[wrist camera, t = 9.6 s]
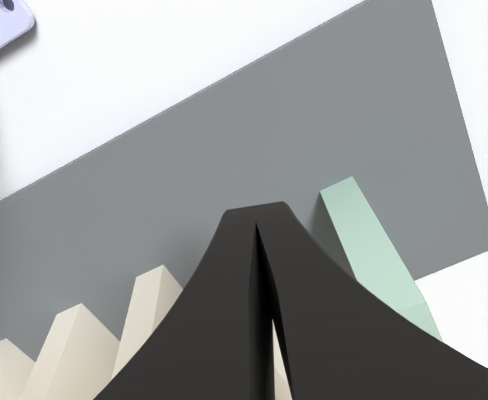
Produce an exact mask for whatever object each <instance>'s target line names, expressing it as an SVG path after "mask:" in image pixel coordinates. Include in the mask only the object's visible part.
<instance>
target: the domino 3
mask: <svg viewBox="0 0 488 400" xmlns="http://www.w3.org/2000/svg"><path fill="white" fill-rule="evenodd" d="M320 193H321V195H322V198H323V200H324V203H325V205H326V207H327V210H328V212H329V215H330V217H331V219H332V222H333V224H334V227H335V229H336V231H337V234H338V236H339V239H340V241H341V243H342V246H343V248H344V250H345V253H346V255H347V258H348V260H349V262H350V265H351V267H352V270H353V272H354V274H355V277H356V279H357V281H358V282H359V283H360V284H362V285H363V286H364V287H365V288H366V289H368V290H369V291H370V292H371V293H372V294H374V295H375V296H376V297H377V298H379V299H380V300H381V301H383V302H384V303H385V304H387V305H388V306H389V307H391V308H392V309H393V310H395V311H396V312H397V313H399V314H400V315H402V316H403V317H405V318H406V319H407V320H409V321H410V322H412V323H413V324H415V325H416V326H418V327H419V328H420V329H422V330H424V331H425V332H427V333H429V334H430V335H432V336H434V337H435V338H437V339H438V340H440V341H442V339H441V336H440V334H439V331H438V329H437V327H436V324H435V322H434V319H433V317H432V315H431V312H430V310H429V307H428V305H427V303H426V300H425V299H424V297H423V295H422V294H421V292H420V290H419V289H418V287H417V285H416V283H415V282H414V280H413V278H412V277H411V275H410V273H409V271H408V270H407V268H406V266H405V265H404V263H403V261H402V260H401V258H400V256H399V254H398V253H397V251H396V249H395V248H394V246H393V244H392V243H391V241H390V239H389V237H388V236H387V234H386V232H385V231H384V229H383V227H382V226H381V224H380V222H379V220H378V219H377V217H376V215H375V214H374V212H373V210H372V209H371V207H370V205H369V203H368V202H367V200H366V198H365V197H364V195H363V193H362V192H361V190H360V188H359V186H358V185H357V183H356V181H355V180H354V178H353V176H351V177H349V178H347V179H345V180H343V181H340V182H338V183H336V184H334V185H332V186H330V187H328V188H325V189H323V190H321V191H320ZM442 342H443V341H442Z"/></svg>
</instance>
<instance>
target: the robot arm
mask: <svg viewBox="0 0 488 400" xmlns="http://www.w3.org/2000/svg"><path fill="white" fill-rule="evenodd" d="M12 1H13V3H14V10H13V11H10V10H8V9H7V8H6V7H5V6H4V4H3V0H0V48H2V47H3V46H5V45H7V44H8V43H10V42H11V41H13V40H14V39H16V38H17V37H19V36H21V35H22V34H24V33H25V32H27V31H28V30H30V29H31V28H32V27H33V25H34V22H35V19H34V14H33V12H32V10H31V9H30V7H29V6H28V5H27V3H26V2H25V0H12ZM273 323H274V327H275V331H276V336H277V340H278V344H279V348H280V352H281V356H282V360H283V364H284V369H285V373H286V377H287V381H288V385H289V389H290V393H291V397H292V400H488V368H486V367H484V366H482V365H480V364H478V363H476V362H475V361H473V360H471V359H470V358H468V357H466V356H464V355H463V354H461V353H460V352H458V351H456V350H455V349H453V348H451V347H450V346H448V345H447V344H445V343H443V342H442V341H440V340H438V339H437V338H435V337H434V336H432V335H430V334H429V333H427V332H425V331H424V330H422V329H420V328H419V327H418V326H416V325H415V324H413V323H412V322H410V321H409V320H407V319H406V318H405V317H403V316H402V315H400V314H399V313H397V312H396V311H395V310H393V309H392V308H391V307H389V306H388V305H387V304H385V303H384V302H383V301H381V300H380V299H379V298H377V297H376V296H375V295H374V294H372V293H371V292H370V291H369V290H368V289H366V288H365V287H364V286H363V285H362V284H360V283H359V282H358V281H357V280H356V279H355V278H353V277H352V276H351V275H350V274H349V273H348V272H347V271H346V270H345V269H344V268H342V267H341V266H340V265H339V264H338V263H337V262H336V261H335V260H334V259H333V258H332V257H331V256H330V255H329V254H328V253H327V252H326V251H325V250H324V249H323V248H322V247H321V245H320V244H319V243H318V242H317V241H316V240H315V239H314V238H313V237H312V236H311V235H310V233H309V232H308V231H307V230H306V229H305V227H304V226H303V225H302V224H301V223H300V221H299V220H298V219H297V217H296V216H295V215H294V213H293V212H292V210H291V208H290V207H289V205H288V204H286V203H285V202H284V201H280V202H274V203H267V204H261V205H254V206H248V207H241V208H235V209H228V210H226V211H225V212H224V214H223V215H222V217H221V220H220V222H219V225H218V227H217V229H216V232H215V234H214V236H213V238H212V240H211V242H210V244H209V246H208V248H207V250H206V252H205V253H204V255H203V257H202V259H201V261H200V263H199V264H198V266H197V268H196V270H195V271H194V273H193V275H192V277H191V278H190V280H189V281H188V283H187V284H186V286H185V287H184V289H183V291H182V292H181V294H180V295H179V297H178V298H177V300H176V301H175V303H174V304H173V306H172V307H171V309H170V310H169V311H168V313H167V314H166V316H165V317H164V318H163V320H162V321H161V322H160V324H159V325H158V326H157V328H156V329H155V330H154V331H153V333H152V334H151V335H150V337H149V338H148V339H147V340H146V342H145V343H144V344H143V345H142V346H141V348H140V349H139V350H138V351H137V352H136V353H135V354H134V356H133V357H132V358H131V359H130V360H129V361H128V363H127V364H126V365H125V366H124V367H123V368H122V369H121V370H120V371H119V372H118V374H117V375H116V376H115V377H114V378H113V379H112V380H111V381H110V382H109V383H108V384H107V386H106V387H105V388H104V389H103V390H102V391H101V392H100V393H99V394H98V395H97V396H96V397H95V398H94V399H93V400H275V380H274V346H273Z"/></svg>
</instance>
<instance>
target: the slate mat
mask: <svg viewBox="0 0 488 400" xmlns="http://www.w3.org/2000/svg"><path fill="white" fill-rule="evenodd" d="M351 176H353V178H354V180H355V181H356V183H357V185H358V186H359V188H360V190H361V192H362V193H363V195H364V197H365V198H366V200H367V202H368V203H369V205H370V207H371V209H372V210H373V212H374V214H375V215H376V217H377V219H378V220H379V222H380V224H381V226H382V227H383V229H384V231H385V232H386V234H387V236H388V237H389V239H390V241H391V243H392V244H393V246H394V248H395V249H396V251H397V253H398V254H399V256H400V258H401V260H402V261H403V263H404V265H405V266H406V268H407V270H408V271H409V273H410V275H411V277H412V278H413V280H414V281H415V280H417V279H420V278H422V277H425V276H427V275H429V274H432V273H434V272H437V271H439V270H442V269H444V268H447V267H449V266H452V265H454V264H457V263H459V262H461V261H464V260H466V259H469V258H471V257H474V256H476V255H479V254H481V253H484V252H486V251H488V205H487V202H486V198H485V194H484V191H483V187H482V184H481V180H480V176H479V173H478V169H477V165H476V162H475V158H474V154H473V151H472V147H471V143H470V140H469V136H468V132H467V129H466V125H465V122H464V118H463V114H462V111H461V107H460V103H459V100H458V96H457V92H456V89H455V85H454V81H453V78H452V74H451V70H450V67H449V63H448V60H447V56H446V52H445V49H444V45H443V41H442V38H441V34H440V30H439V27H438V23H437V19H436V16H435V12H434V8H433V5H432V1H431V0H364V1H363V2H361V3H359V4H357V5H355V6H354V7H352V8H350V9H348V10H346V11H344V12H343V13H341V14H339V15H337V16H335V17H334V18H332V19H330V20H328V21H326V22H324V23H323V24H321V25H319V26H317V27H315V28H314V29H312V30H310V31H308V32H306V33H304V34H303V35H301V36H299V37H297V38H295V39H294V40H292V41H290V42H288V43H286V44H285V45H283V46H281V47H279V48H277V49H275V50H274V51H272V52H270V53H268V54H266V55H265V56H263V57H261V58H259V59H257V60H255V61H254V62H252V63H250V64H248V65H246V66H245V67H243V68H241V69H239V70H237V71H235V72H234V73H232V74H230V75H228V76H226V77H225V78H223V79H221V80H219V81H217V82H215V83H214V84H212V85H210V86H208V87H206V88H205V89H203V90H201V91H199V92H197V93H195V94H194V95H192V96H190V97H188V98H186V99H185V100H183V101H181V102H179V103H177V104H175V105H174V106H172V107H170V108H168V109H166V110H165V111H163V112H161V113H159V114H157V115H155V116H154V117H152V118H150V119H148V120H146V121H145V122H143V123H141V124H139V125H137V126H135V127H134V128H132V129H130V130H128V131H126V132H125V133H123V134H121V135H119V136H117V137H115V138H114V139H112V140H110V141H108V142H106V143H105V144H103V145H101V146H99V147H97V148H95V149H94V150H92V151H90V152H88V153H86V154H85V155H83V156H81V157H79V158H77V159H75V160H74V161H72V162H70V163H68V164H66V165H65V166H63V167H61V168H59V169H57V170H55V171H54V172H52V173H50V174H48V175H46V176H45V177H43V178H41V179H39V180H37V181H35V182H34V183H32V184H30V185H28V186H26V187H25V188H23V189H21V190H19V191H17V192H16V193H14V194H12V195H10V196H8V197H6V198H5V199H3V200H1V201H0V341H1V340H3V339H6V338H7V339H8V340H9V341H10V342H12V343H13V344H14V345H15V346H16V347H18V348H19V349H20V350H21V351H22V352H23V353H25V354H26V355H27V356H28V357H29V358H31V359H32V360H33V361H34V362H35V363H36V361H37V358H38V356H39V354H40V352H41V349H42V347H43V345H44V342H45V340H46V338H47V336H48V333H49V331H50V329H51V326H52V324H53V322H54V320H55V317H56V315H57V314H59V313H61V312H63V311H65V310H67V309H70V308H72V307H74V306H76V305H78V304H80V303H82V304H83V305H84V306H85V307H86V308H87V309H88V310H89V311H90V312H91V313H92V314H93V315H94V316H95V317H96V318H97V319H98V320H99V321H100V322H101V323H102V324H103V325H104V326H105V327H106V328H107V329H108V330H109V331H110V332H111V333H112V334H113V335H114V336H115V337H116V338H117V339H118V340H119V341H121V337H122V333H123V329H124V325H125V321H126V317H127V313H128V309H129V305H130V301H131V297H132V293H133V289H134V284H135V280H136V277H138V276H140V275H142V274H144V273H146V272H148V271H150V270H153V269H155V268H157V267H159V266H161V265H164V266H165V267H166V268H167V270H168V271H169V272H170V273H171V275H172V276H173V277H174V278H175V280H176V281H177V282H178V283H179V285H180V286H181V287H182V288H183V289H184V287H185V286H186V284H187V283H188V281H189V280H190V278H191V277H192V275H193V273H194V271H195V270H196V268H197V266H198V264H199V263H200V261H201V259H202V257H203V255H204V253H205V252H206V250H207V248H208V246H209V244H210V242H211V240H212V238H213V236H214V234H215V232H216V229H217V227H218V225H219V222H220V220H221V217H222V215H223V214H224V212H225V211H226V210H228V209H235V208H241V207H248V206H254V205H261V204H267V203H274V202H280V201H284V202H285V203H286V204H288V205H289V207H290V208H291V210H292V212H293V213H294V215H295V216H296V217H297V219H298V220H299V221H300V223H301V224H302V225H303V226H304V227H305V229H306V230H307V231H308V232H309V233H310V235H311V236H312V237H313V238H314V239H315V240H316V241H317V242H318V243H319V244H320V245H321V247H322V248H323V249H324V250H325V251H326V252H327V253H328V254H329V255H330V256H331V257H332V258H333V259H334V260H335V261H336V262H337V263H338V264H339V265H340V266H341V267H342V268H344V269H345V270H346V271H347V272H348V273H349V274H350V275H351V276H352V277H353V278H355V279H356V277H355V274H354V272H353V270H352V267H351V265H350V262H349V260H348V258H347V255H346V253H345V250H344V248H343V246H342V243H341V241H340V239H339V236H338V234H337V231H336V229H335V227H334V224H333V222H332V219H331V217H330V215H329V212H328V210H327V207H326V205H325V203H324V200H323V198H322V195H321V193H320V191H321V190H323V189H325V188H328V187H330V186H332V185H334V184H336V183H338V182H340V181H343V180H345V179H347V178H349V177H351ZM356 280H357V279H356Z"/></svg>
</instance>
